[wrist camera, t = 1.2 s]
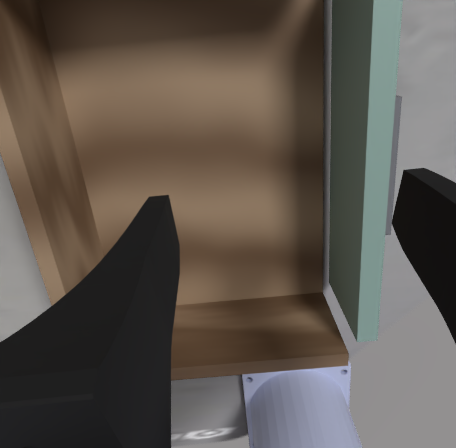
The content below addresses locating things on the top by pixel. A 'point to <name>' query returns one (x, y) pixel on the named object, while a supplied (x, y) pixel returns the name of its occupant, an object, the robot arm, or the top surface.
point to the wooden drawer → (180, 161)
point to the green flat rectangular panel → (362, 153)
